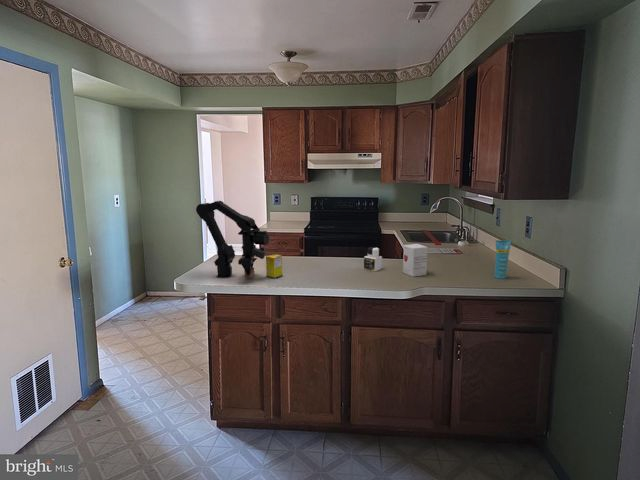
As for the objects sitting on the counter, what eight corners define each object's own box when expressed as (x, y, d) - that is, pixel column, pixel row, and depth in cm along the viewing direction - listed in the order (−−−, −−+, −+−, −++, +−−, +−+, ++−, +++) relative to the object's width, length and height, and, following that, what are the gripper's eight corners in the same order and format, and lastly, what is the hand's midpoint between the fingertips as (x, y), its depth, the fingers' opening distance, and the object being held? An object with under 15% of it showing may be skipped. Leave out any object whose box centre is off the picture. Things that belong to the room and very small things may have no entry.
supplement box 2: (402, 272, 216) (403, 244, 214) (416, 270, 220) (417, 243, 217) (412, 277, 208) (413, 248, 205) (426, 275, 212) (428, 246, 209)
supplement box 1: (274, 274, 214) (274, 253, 212) (282, 276, 210) (282, 255, 208) (266, 276, 209) (265, 256, 207) (274, 279, 206) (273, 257, 203)
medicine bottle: (363, 269, 223) (363, 247, 221) (371, 266, 228) (371, 245, 226) (374, 271, 218) (374, 249, 216) (382, 269, 223) (382, 247, 221)
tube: (495, 279, 204) (498, 241, 200) (490, 276, 209) (493, 239, 205) (509, 278, 204) (513, 241, 201) (505, 276, 209) (508, 239, 205)
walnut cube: (244, 277, 204) (244, 269, 204) (246, 274, 208) (246, 267, 208) (252, 277, 204) (252, 269, 203) (254, 275, 208) (254, 267, 207)
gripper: (260, 247, 193) (261, 279, 196) (268, 240, 212) (268, 269, 215) (237, 247, 194) (238, 279, 197) (246, 239, 212) (247, 269, 215)
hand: (249, 274), depth 206 cm, fingers closed on walnut cube, 4 cm apart
